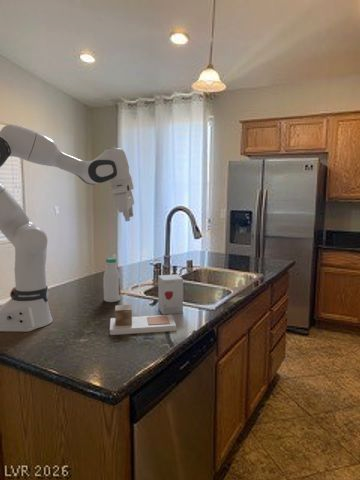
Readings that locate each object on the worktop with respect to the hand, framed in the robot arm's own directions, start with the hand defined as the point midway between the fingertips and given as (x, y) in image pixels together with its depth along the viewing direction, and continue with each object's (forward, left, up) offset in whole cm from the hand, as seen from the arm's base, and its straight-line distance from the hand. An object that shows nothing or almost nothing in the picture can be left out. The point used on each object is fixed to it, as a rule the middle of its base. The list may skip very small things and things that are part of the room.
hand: (129, 218), depth 157 cm
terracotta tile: (+9, -24, -37) cm, 45 cm away
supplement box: (+16, -7, -40) cm, 43 cm away
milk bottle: (-9, +13, -40) cm, 42 cm away
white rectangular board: (+3, -24, -39) cm, 46 cm away
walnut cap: (-4, -24, -37) cm, 44 cm away
